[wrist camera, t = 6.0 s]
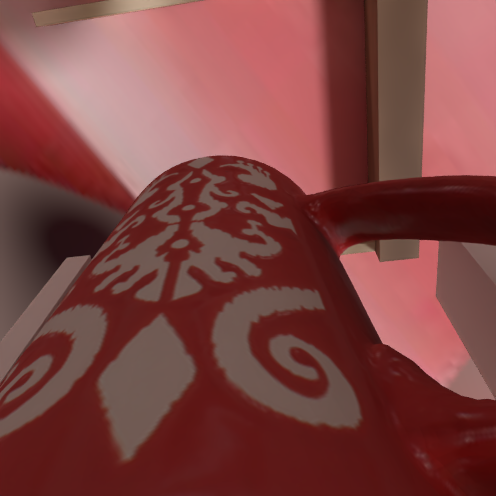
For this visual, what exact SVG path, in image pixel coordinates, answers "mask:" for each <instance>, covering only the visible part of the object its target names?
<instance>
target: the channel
mask: <svg viewBox="0 0 496 496" xmlns="http://www.w3.org/2000/svg"><path fill="white" fill-rule="evenodd" d="M197 1H203V0H106V1H100V2H94V3H88V4H82V5H76V6H70V7H64V8H58V9H52V10H46V11H40V12H34V13H32V15H33V18H34V22H35V25H36V27H39V26H49V25H56V24H62V23H68V22H74V21H80V20H87V19H93V18H99V17H105V16H111V15H117V14H123V13H130V12H136V11H142V10H148V9H154V8H160V7H166V6H172V5H179V4H185V3H191V2H197ZM427 8H428V0H364V11H365V57H366V104H367V150H368V183H372V182H379V181H386V180H396V179H406V178H416V177H422V151H423V122H424V93H425V65H426V36H427ZM372 251H375V252H376V254H377V256H378V259H379V261H380V262H384V261H394V260H404V259H413V258H419V240H413V239H392V240H373V241H366V242H363V243H360V244H357V245H354V246H351V247H349V248H348V249H346V250H345V251H344V252H343V253H342V254H341V255H344V254H354V253H363V252H372Z"/></svg>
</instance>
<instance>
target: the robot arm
mask: <svg viewBox="0 0 496 496" xmlns="http://www.w3.org/2000/svg"><path fill="white" fill-rule="evenodd" d="M90 262H91V257H90V256H80V257H71V258H66V259H65V261H64V262H63V263H62V265H61V266H60V267H59V268H58V270H57V271H56V272H55V273H54V275H53V276H52V277H51V279H50V280H49V281H48V282H47V283H46V285H45V286H44V287H43V289H42V290H41V291H40V292H39V294H38V295H37V296H36V297H35V299H34V300H33V301H32V302H31V304H30V305H29V306H28V308H27V309H26V310H25V311H24V313H23V314H22V315H21V316H20V318H19V319H18V320H17V322H16V323H15V324H14V325H13V326H12V328H11V329H10V330H9V332H8V333H7V334H6V335H5V337H4V338H3V339H2V340H1V342H0V384H1V383H2V381H3V380H4V379H5V377H6V376H7V374H8V373H9V372H10V370H11V369H12V367H13V366H14V364H15V363H16V362H17V360H18V359H19V357H20V356H21V355H22V354H23V353H24V351H25V350H26V349H27V348H28V347H29V345H30V344H31V343H32V341H33V340H34V339H35V337H36V336H37V335H38V333H39V332H40V331H41V329H42V328H43V326H44V325H45V324H46V322H47V321H48V319H49V318H50V317H51V315H52V314H53V312H54V311H55V310H56V308H57V307H58V305H59V304H60V303H61V301H62V300H63V299H64V297H65V296H66V294H67V293H68V291H69V290H70V289H71V287H72V286H73V285H74V283H75V282H76V280H77V279H78V278H79V277H80V275H81V274H82V273H83V271H84V270H85V269H86V267H87V266H88V264H89V263H90ZM436 297H437V299H438V301H439V302H440V304H441V306H442V308H443V309H444V311H445V313H446V315H447V316H448V318H449V320H450V321H451V323H452V325H453V327H454V328H455V330H456V332H457V334H458V335H459V337H460V339H461V341H462V342H463V344H464V346H465V348H466V349H467V351H468V353H469V354H470V356H471V358H472V360H473V361H474V363H475V365H476V367H477V368H478V370H479V372H480V374H481V375H482V377H483V379H484V381H485V382H486V384H487V386H488V387H489V389H490V391H491V393H492V394H493V396H494V398H495V399H496V246H493V245H485V244H476V243H463V242H452V241H439V251H438V268H437V285H436Z"/></svg>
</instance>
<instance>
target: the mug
mask: <svg viewBox="0 0 496 496" xmlns="http://www.w3.org/2000/svg"><path fill="white" fill-rule="evenodd" d="M392 239H413V240H436V241H452V242H463V243H476V244H485V245H493V246H496V177H495V176H470V175H462V176H435V177H416V178H406V179H396V180H386V181H379V182H372V183H365V184H359V185H353V186H347V187H342V188H336V189H332V190H328V191H324V192H320V193H316V194H311V195H306V194H305V193H304V192H303V191H302V189H301V188H300V187H299V186H297V185H296V184H295V183H294V182H293V181H292V180H291V179H290V178H288V177H287V176H285V175H284V174H282V173H281V172H279V171H278V170H276V169H275V168H272V167H270V166H268V165H266V164H264V163H261V162H258V161H255V160H251V159H247V158H243V157H237V156H209V157H203V158H198V159H194V160H190V161H187V162H184V163H181V164H179V165H177V166H174V167H172V168H170V169H169V170H167V171H165V172H164V173H162V174H161V175H159V176H158V177H157V178H156V179H154V180H153V181H152V182H151V183H150V184H149V185H148V186H147V187H146V188H145V189H144V190H143V191H142V192H141V194H140V195H139V196H138V197H137V198H136V200H135V201H134V202H133V204H132V205H131V206H130V208H129V209H128V211H127V212H126V214H125V215H124V217H123V218H122V220H121V221H120V222H119V224H118V225H117V226H116V228H115V229H114V230H113V232H112V233H111V234H110V236H109V237H108V238H107V240H106V241H105V243H104V244H103V245H102V247H101V248H100V250H99V251H98V252H97V254H96V255H95V256H94V258H93V259H92V260H91V262H90V263H89V264H88V266H87V267H86V269H85V270H84V271H83V273H82V274H81V275H80V277H79V278H78V279H77V280H76V282H75V283H74V285H73V286H72V287H71V289H70V290H69V291H68V293H67V294H66V296H65V297H64V299H63V300H62V301H61V303H60V304H59V305H58V307H57V308H56V310H55V311H54V312H53V314H52V315H51V317H50V318H49V319H48V321H47V322H46V324H45V325H44V326H43V328H42V329H41V331H40V332H39V333H38V335H37V336H36V337H35V339H34V340H33V341H32V343H31V344H30V345H29V347H28V348H27V349H26V350H25V351H24V353H23V354H22V355H21V356H20V357H19V359H18V360H17V362H16V363H15V364H14V366H13V367H12V369H11V370H10V372H9V373H8V374H7V376H6V377H5V379H4V380H3V381H2V383H1V384H0V496H496V400H491V399H481V400H476V399H473V398H469V397H464V396H461V395H459V394H457V393H455V392H453V391H451V390H449V389H447V388H445V387H443V386H442V385H440V384H439V383H438V382H437V381H435V380H434V379H433V378H431V377H430V376H429V375H428V374H426V373H425V372H424V371H423V370H422V369H421V368H420V367H419V366H418V365H417V364H416V363H415V362H413V361H412V360H410V359H409V358H407V357H405V356H404V355H402V354H401V353H399V352H397V351H396V350H394V349H393V348H391V347H390V346H388V345H385V344H383V343H382V341H381V340H380V338H379V336H378V334H377V332H376V330H375V328H374V326H373V324H372V322H371V320H370V318H369V316H368V314H367V312H366V310H365V308H364V306H363V304H362V302H361V300H360V298H359V296H358V294H357V292H356V290H355V288H354V286H353V284H352V282H351V281H350V279H349V277H348V275H347V273H346V271H345V269H344V267H343V265H342V263H341V261H340V260H339V259H340V255H341V254H342V253H343V252H344V251H345V250H346V249H348V248H349V247H351V246H354V245H357V244H360V243H363V242H366V241H373V240H392Z"/></svg>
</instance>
